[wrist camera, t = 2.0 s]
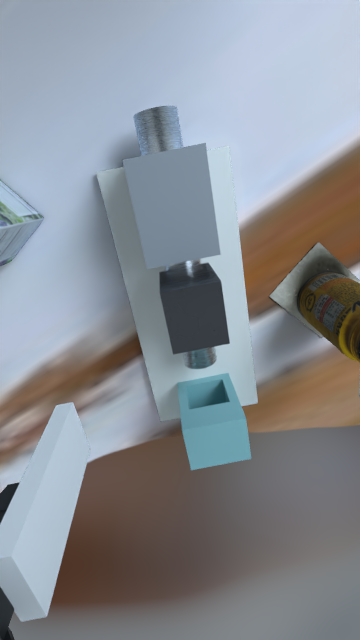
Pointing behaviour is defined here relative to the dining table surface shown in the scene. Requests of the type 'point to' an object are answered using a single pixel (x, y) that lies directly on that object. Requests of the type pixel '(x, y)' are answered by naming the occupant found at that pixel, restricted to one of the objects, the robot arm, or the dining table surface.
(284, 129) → the dining table surface
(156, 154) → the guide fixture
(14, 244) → the syrup box
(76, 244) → the dining table surface
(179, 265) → the tube
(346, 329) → the condiment
